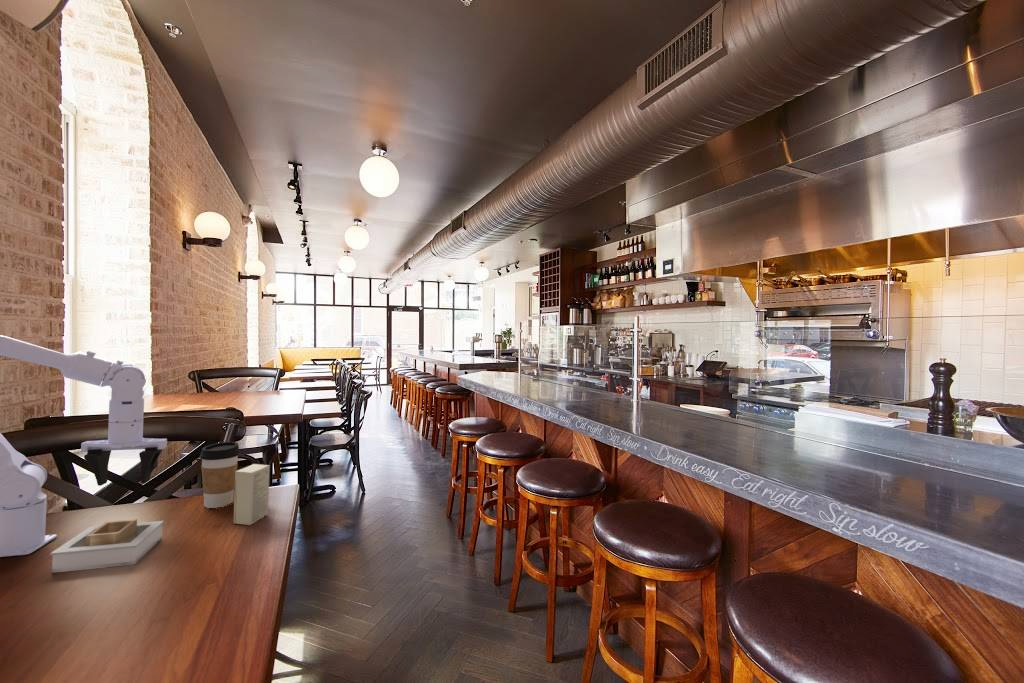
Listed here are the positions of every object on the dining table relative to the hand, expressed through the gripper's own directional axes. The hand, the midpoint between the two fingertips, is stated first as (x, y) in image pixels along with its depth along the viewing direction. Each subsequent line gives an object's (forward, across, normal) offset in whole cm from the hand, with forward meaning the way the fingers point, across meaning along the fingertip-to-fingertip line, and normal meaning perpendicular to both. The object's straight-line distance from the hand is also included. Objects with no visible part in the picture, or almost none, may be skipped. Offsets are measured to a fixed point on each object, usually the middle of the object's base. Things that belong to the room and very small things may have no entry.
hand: (124, 482), depth 95 cm
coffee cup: (+10, +15, +11) cm, 21 cm away
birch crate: (+9, +4, -13) cm, 16 cm away
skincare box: (+10, +25, -1) cm, 27 cm away
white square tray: (+10, +4, -13) cm, 17 cm away
